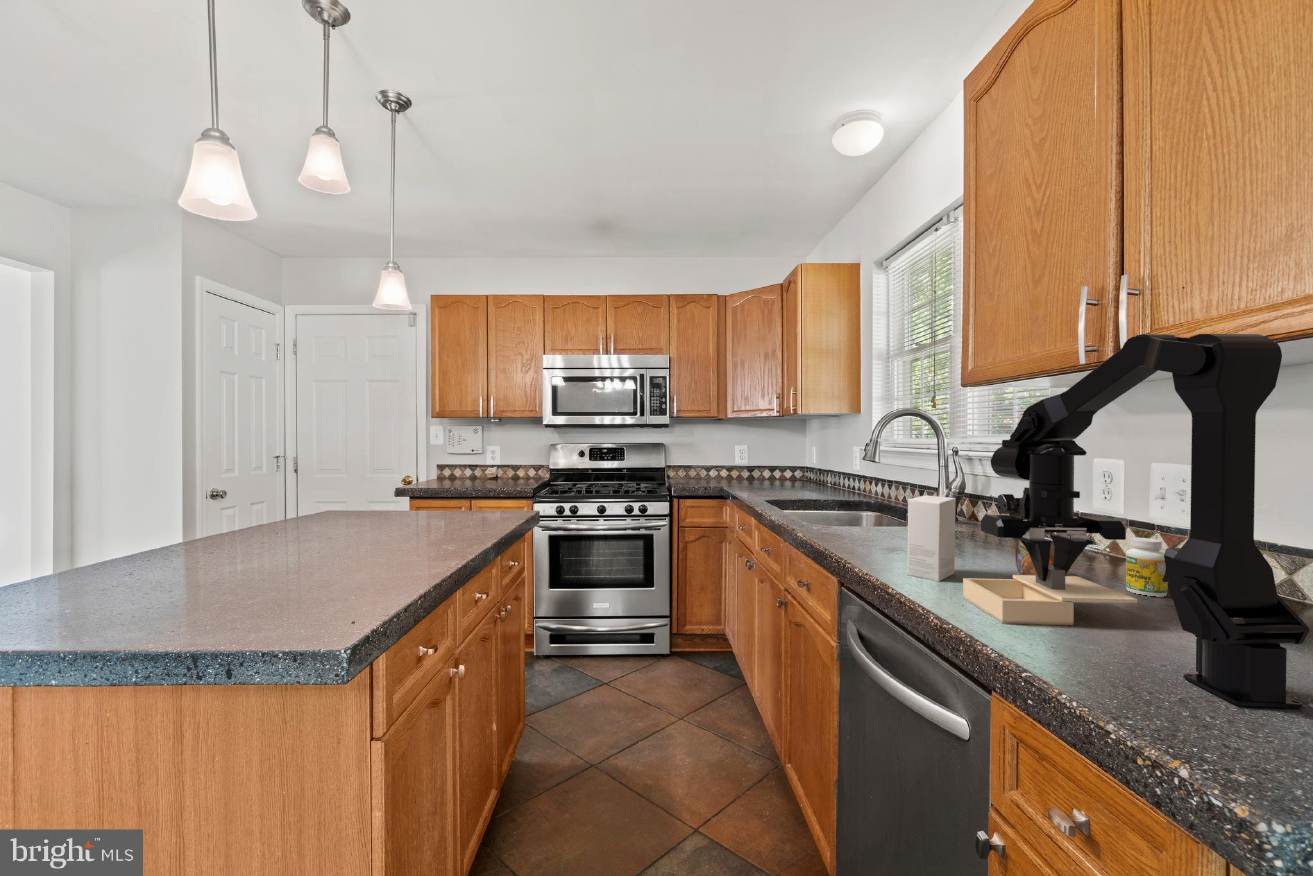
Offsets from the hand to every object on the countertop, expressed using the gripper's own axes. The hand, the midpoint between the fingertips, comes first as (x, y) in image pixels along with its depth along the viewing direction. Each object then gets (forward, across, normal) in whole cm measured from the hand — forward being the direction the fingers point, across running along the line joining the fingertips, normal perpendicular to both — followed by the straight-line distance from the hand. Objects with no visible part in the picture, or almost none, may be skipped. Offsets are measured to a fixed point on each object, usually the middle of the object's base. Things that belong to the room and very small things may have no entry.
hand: (1050, 580), depth 84 cm
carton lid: (+1, -3, 0) cm, 3 cm away
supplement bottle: (+5, -24, -12) cm, 27 cm away
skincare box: (+5, +9, -21) cm, 24 cm away
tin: (+5, -10, -20) cm, 23 cm away
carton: (+5, +5, 0) cm, 7 cm away
